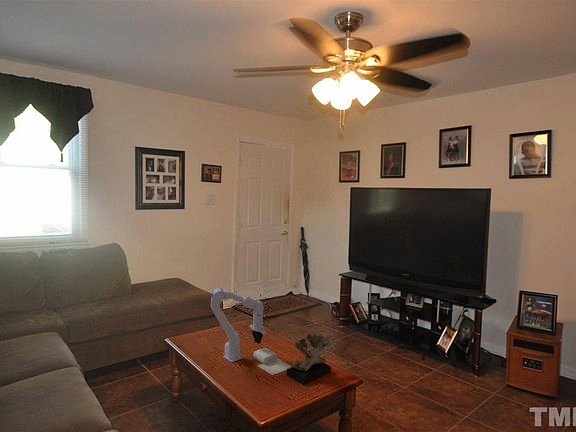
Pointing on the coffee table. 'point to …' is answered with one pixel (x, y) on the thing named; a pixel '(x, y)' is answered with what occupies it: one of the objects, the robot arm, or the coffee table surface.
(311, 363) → the coral
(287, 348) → the coffee table surface
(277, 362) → the mat
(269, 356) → the photo printer
